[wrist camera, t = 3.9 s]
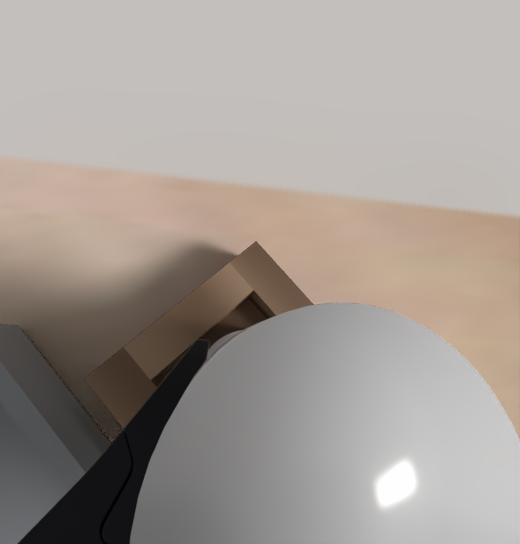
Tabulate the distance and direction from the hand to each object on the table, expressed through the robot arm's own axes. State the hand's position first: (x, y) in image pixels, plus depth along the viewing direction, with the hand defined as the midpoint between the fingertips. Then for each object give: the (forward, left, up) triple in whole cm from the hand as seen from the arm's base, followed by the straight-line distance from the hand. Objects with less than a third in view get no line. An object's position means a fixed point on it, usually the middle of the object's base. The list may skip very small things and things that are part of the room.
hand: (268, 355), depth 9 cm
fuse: (-1, -1, -6) cm, 6 cm away
